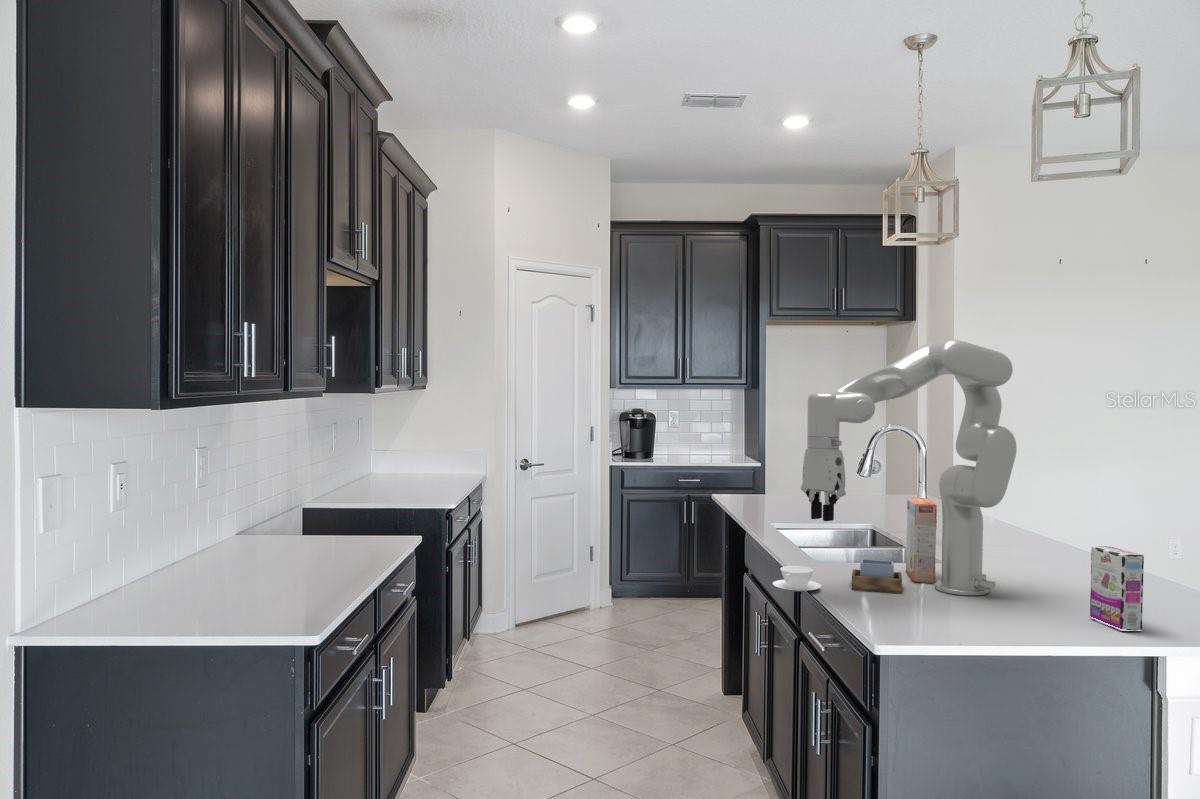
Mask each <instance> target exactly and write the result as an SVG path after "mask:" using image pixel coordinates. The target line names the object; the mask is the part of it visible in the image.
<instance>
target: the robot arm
mask: <svg viewBox="0 0 1200 799" xmlns="http://www.w3.org/2000/svg"><path fill="white" fill-rule="evenodd" d="M943 375H953V377H954V379H955V380H956V382H957V383H958V384H959V385H960V387H961V390H962V392H963V394H964V399H965V404H964V411H963V414H962V418H961V422H960V426H959V430H958V433H957V436H956V441H955V451H956V453H957V454H958V456H959V457H961V458H962V459H964V460H967V461H970V462H975V466H972V465H966V464H954V465H951V466H949V467H947V468H945V470H943V472H942V473H941V476H940V477H939V482H938V487H939V495H940V501H941V507H942V512H941V513H942V530H941V533H942V534H941V535H942V536H941V537H942V538H941V543H942V544H941V546H942V547H941V580H940V581H936V582H935V583H934V588H935V590H937V591H940V592H942V593H947V594H951V595H957V596H984V595H987V594H988V593H989V592H990V591H994V590H995V588H996V585H997V584H996V581H992V580H988V579H987V574H986V573H983V553H984V552H983V550H984V549H983V547H984V545H983V542H984V535H983V533H984V518H983V513H982V508H985V509H987V508H994V507H995V506H997V505H998V504H1000V503H1001V502H1002V500H1003V499H1004V497H1005V495H1006V493H1007V489H1008V486H1009V481H1010V477H1011V475H1012V473H1013V472H1012V471H1013V468H1014V464H1015V459H1016V456H1017V441H1016V437H1015V435H1014V434H1013V433H1012V431H1010V429H1008V428H1006V427H1004V426H1002V425H999V422H1000V418H1001V413H1002V407H1003V406H1002V404H1003V403H1002V399H1001V394H1000V392H999V390H998V387H1000V386H1003V385H1005V384H1006V383H1008V382H1009V381H1010V379H1011V377H1012V375H1013V364H1012V362H1011V360H1010V358H1009V357H1008V356H1007V354H1004V353H1002V352H1000V351H997V350H994V349H990V348H987V347H984V346H980V345H976V344H973V343H970V342H967V341H965V340H964V341H963V340H960V339H942V340H940V339H939V340H933V341H930V342H927V343H926V344H923V345H921V346H920V347H918V348H917V349H915V350H914V351H913V350H912V351H911V352H910V353H908V354H906V355H905V356H903V357H901V358H900V359H898V360H897V361H894V362H892V363H891V364H889V365H888V366H887V365H886V366H885V367H882V368H879V369H878V370H876V371H873V372H871V373H868V374H867V375H864V376H862V377H859V378H857V379H855V380H853V381H851V382H850V383H848V384H846V385H844V386H843V387H841V388H839V389H837V390H836V391H834V392H813V393H811V394H809V395H808V398H807V437H806V438H807V440H806V443H807V444H806V446H807V448H806V449H805V452H804V456H803V466H802V484H801V486H800V490H801V491H802V492H803V493H804V494H805V495H806V497H808V502H809V503H810V519H811V520H818V519H822V520H823V522H832V521H834V519H835V517H834V516H835V505H837V502H838V501H839V499H840V498H843V497H844V496H846V490H845V489H846V469H845V468H846V466H845V459H844V454H843V451H842V450H840V447H841V446H842V445H843V444H842V443H843V442H842V440H840V423H849V424H863V423H866V422H867V421H869V420H870V419H872V418H873V416H874V415H875V411H876V405H875V404H876V403H880V402H884V401H888V400H894V399H898V398H902V397H904V396H908V395H910V394H911V393H913V392H916V391H917V390H918V389H920V388H922V387H923V386H925V385H927V384H928V383H930V382H931V381H934V380H935V379H937V378H939V377H940V376H943ZM822 492H824V493H823V494H824V495H823V496H824V504H823V502H822V501H821V494H822Z"/></svg>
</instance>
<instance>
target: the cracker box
mask: <svg viewBox="0 0 1200 799" xmlns="http://www.w3.org/2000/svg"><path fill="white" fill-rule="evenodd" d="M906 504H907V507H906V548H905V549H906V551H905V573H906V574H907V575H908V577H909V578H910V579H911V581H912V582H913V583H925V584H935V583H936V582H935V581H936V550H937V549H936V548H937V547H936V546H937V544H936V543H937V518H938V517H937V514H938V513H937V511H938V507H937V506H938V505H937V504H936V503H935V502H933V501H932V500H931V499H930V498H926V497H907V502H906Z"/></svg>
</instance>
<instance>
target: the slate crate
mask: <svg viewBox="0 0 1200 799" xmlns="http://www.w3.org/2000/svg"><path fill="white" fill-rule="evenodd" d="M859 564H860V568H859V570H860V576H864V577H878V578H893V575H894V572H895V571H894V569H895V568H894V566H895V564H894V561H893V560H882V559H881V560H880V559H868V558H867V559H864V558H861V559H860V563H859Z"/></svg>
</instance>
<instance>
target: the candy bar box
mask: <svg viewBox="0 0 1200 799" xmlns="http://www.w3.org/2000/svg"><path fill="white" fill-rule="evenodd" d="M1144 558H1145V555H1143V554H1141V553H1136V552H1132V551H1129V550H1125V549H1121V548H1117V547H1113V546H1106V545H1105V546H1101V545H1099V546H1091V558H1090V561H1091V562H1090V598H1089V599H1090V604H1089V605H1090V606H1089V607H1090V608H1089V617H1090V616H1091V617H1093V618H1096V619H1098V620H1101V621H1103V622H1105V623H1108V624H1110V625H1113V626H1115V627H1118V628H1120V629H1126V630H1142V631H1143V604H1144V602H1143V601H1144V598H1143V596H1144V595H1143V593H1144V571H1145V570H1144V567H1145V565H1144V562H1145V560H1144Z"/></svg>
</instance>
